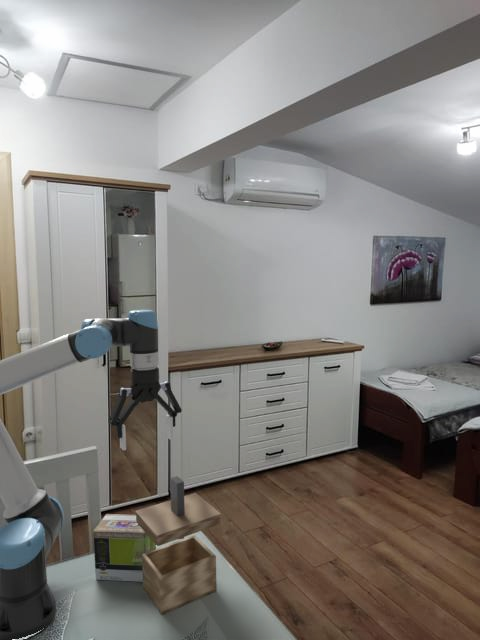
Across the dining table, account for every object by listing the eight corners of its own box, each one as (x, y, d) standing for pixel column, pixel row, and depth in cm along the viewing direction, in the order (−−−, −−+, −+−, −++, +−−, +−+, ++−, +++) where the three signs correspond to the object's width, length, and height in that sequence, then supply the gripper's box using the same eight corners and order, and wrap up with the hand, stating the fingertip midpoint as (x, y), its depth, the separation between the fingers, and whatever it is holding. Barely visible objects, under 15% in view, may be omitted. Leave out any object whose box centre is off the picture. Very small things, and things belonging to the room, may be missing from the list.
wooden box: (161, 615, 118) (160, 578, 117) (143, 588, 128) (142, 554, 127) (216, 590, 127) (215, 556, 126) (195, 567, 137) (194, 535, 136)
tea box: (157, 561, 140) (155, 514, 138) (147, 583, 130) (145, 533, 129) (108, 558, 142) (106, 512, 140) (94, 580, 132) (92, 530, 130)
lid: (157, 546, 115) (155, 500, 113) (135, 520, 126) (134, 478, 125) (221, 523, 125) (220, 480, 123) (195, 501, 136) (194, 462, 135)
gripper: (103, 376, 117) (106, 458, 119) (192, 364, 131) (193, 438, 133) (94, 370, 123) (97, 449, 126) (180, 359, 137) (181, 430, 139)
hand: (147, 443), depth 129 cm, fingers open, 13 cm apart
